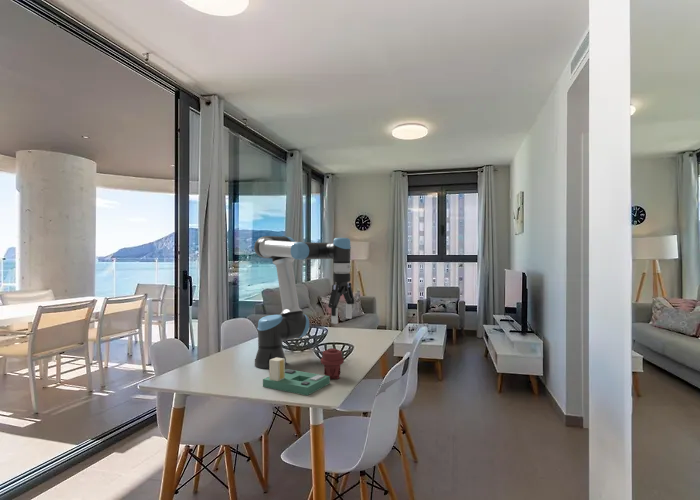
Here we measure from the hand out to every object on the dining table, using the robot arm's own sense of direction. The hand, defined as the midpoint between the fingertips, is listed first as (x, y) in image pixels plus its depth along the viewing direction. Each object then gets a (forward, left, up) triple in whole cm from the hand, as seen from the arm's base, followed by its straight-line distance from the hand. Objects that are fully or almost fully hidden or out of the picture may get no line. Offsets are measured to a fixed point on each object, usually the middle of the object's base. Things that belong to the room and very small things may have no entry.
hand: (341, 320), depth 176 cm
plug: (-16, -25, -21) cm, 36 cm away
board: (-10, -20, -24) cm, 33 cm away
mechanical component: (-2, -5, -24) cm, 25 cm away
